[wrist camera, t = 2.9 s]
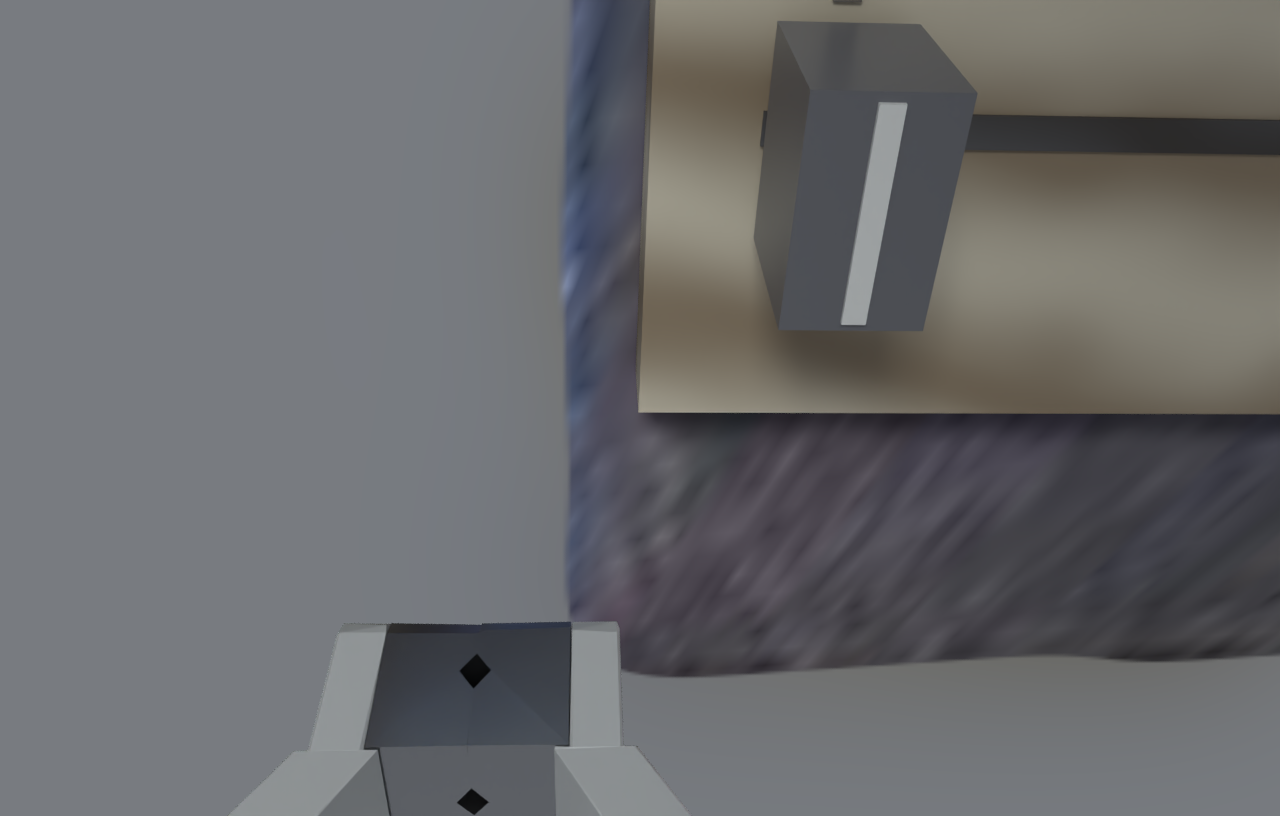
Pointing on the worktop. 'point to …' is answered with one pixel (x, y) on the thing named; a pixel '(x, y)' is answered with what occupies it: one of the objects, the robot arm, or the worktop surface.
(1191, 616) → the worktop surface
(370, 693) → the robot arm
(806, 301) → the fader knob
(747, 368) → the console
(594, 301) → the worktop surface
